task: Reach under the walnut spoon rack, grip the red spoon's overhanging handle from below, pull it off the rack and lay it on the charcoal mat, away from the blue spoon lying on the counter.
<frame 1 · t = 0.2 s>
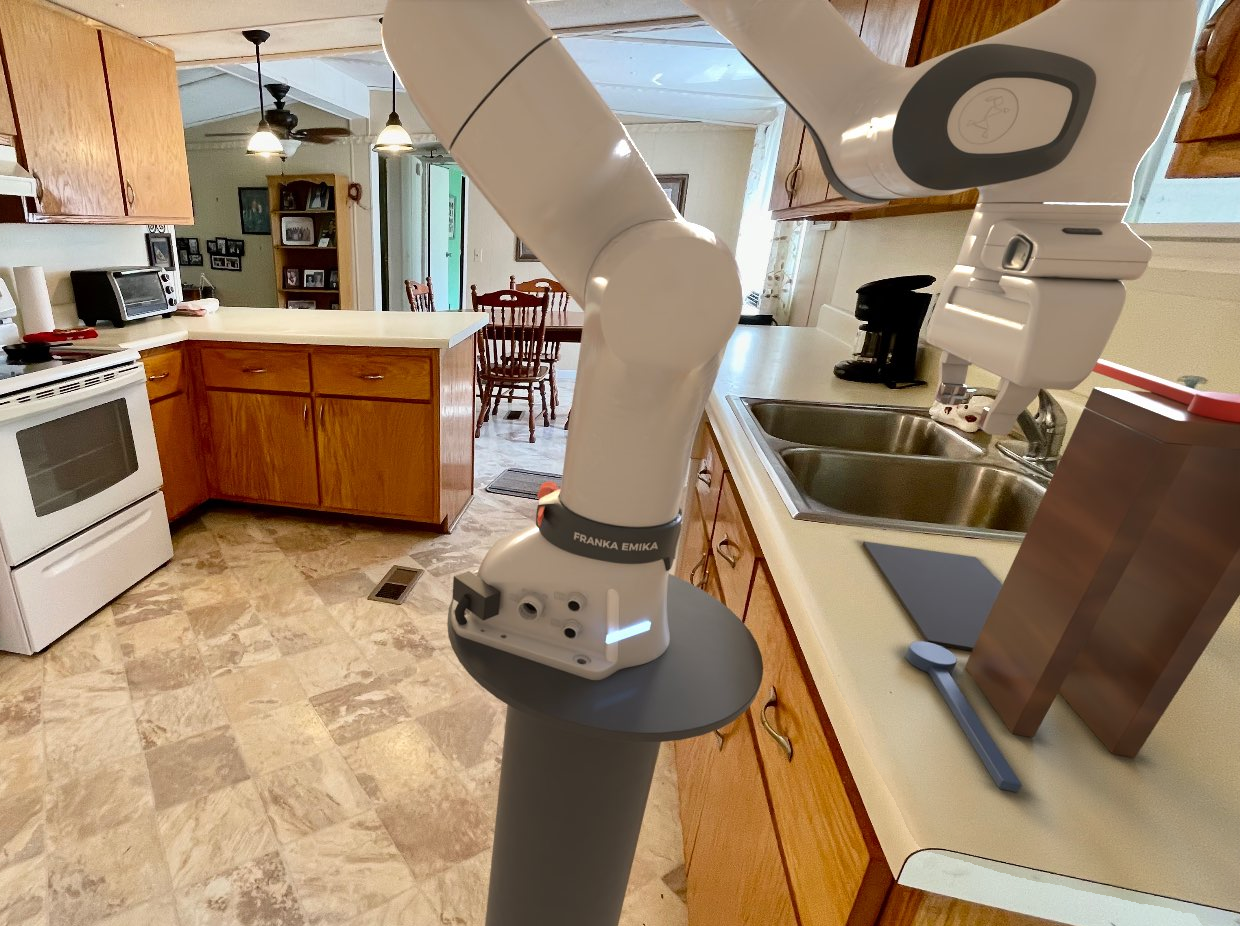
hand: (967, 416, 57), 22 cm above the countertop, tool pointing down, fingers open, 8 cm apart
red spoon: (1178, 399, 47), point 26 cm above the countertop, touching spoon rack
spoon rack: (1042, 708, 55), on the countertop
charcoal mat: (953, 597, 71), on the countertop
blue spoon: (947, 693, 57), on the countertop
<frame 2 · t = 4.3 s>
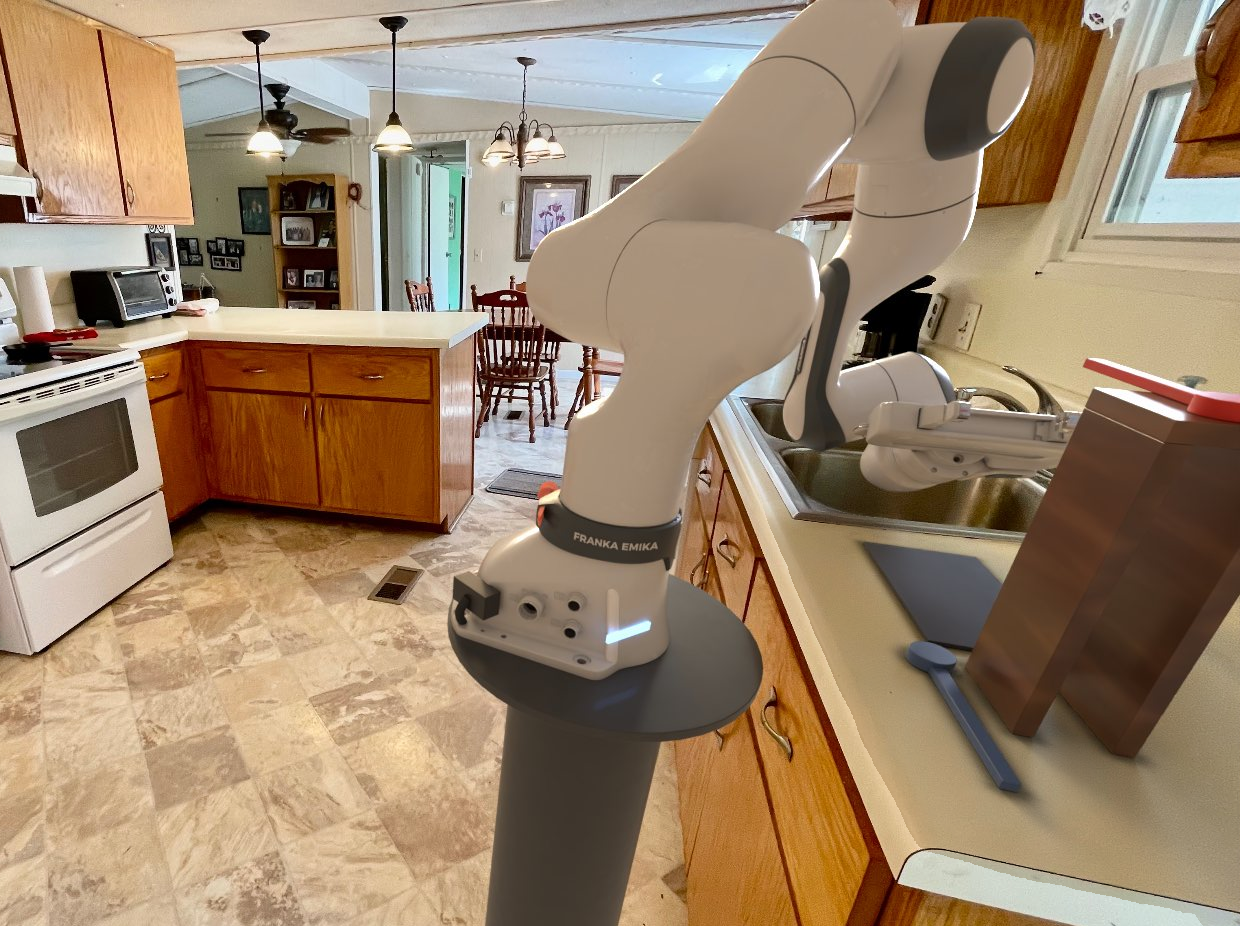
hand: (1018, 414, 65), 20 cm above the countertop, tool pointing upward, fingers open, 8 cm apart
nothing on the countertop moved.
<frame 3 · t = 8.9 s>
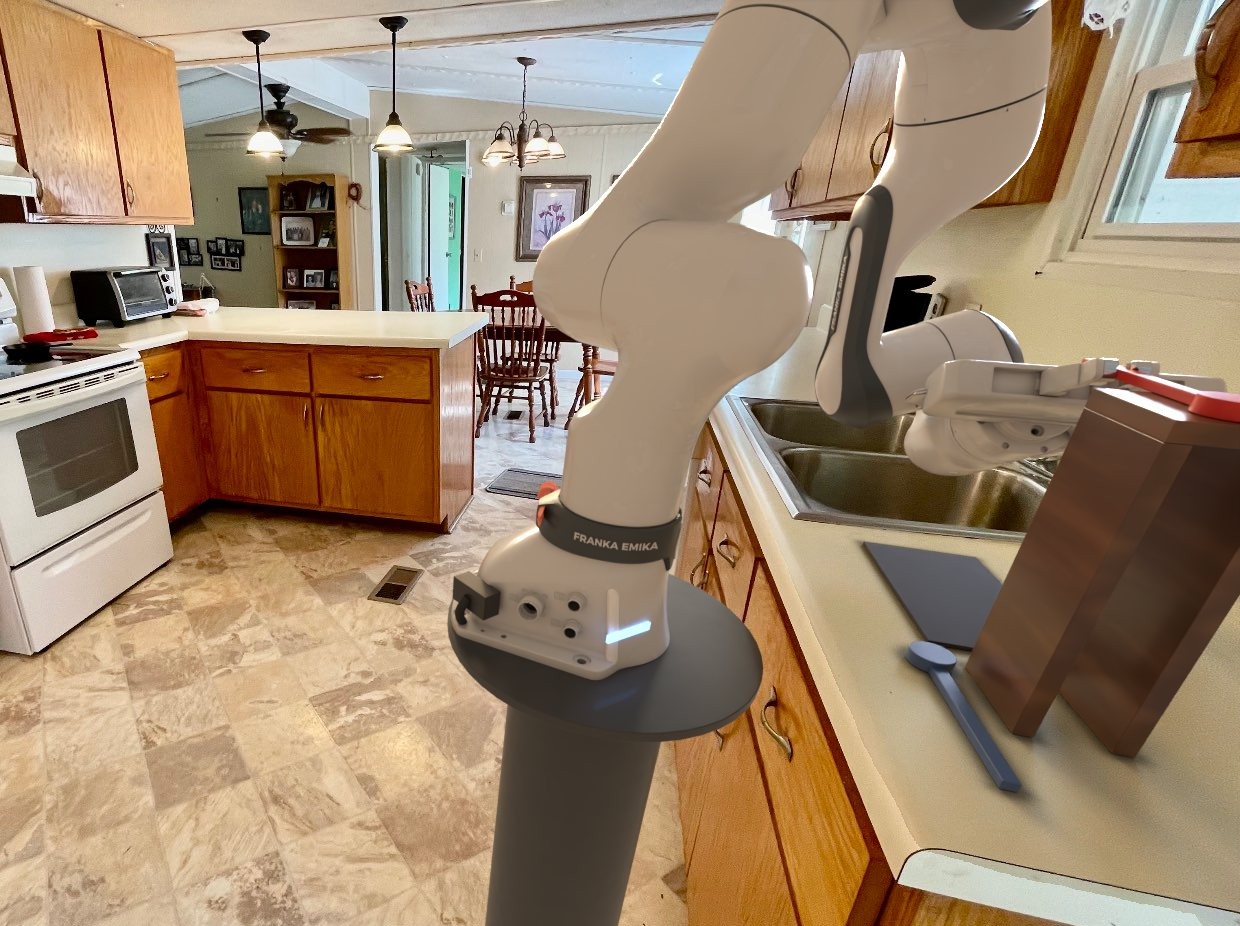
hand: (1128, 369, 52), 27 cm above the countertop, tool pointing upward, fingers closed on red spoon, 1 cm apart
red spoon: (1178, 399, 47), point 26 cm above the countertop, touching gripper, spoon rack
everything else where it was.
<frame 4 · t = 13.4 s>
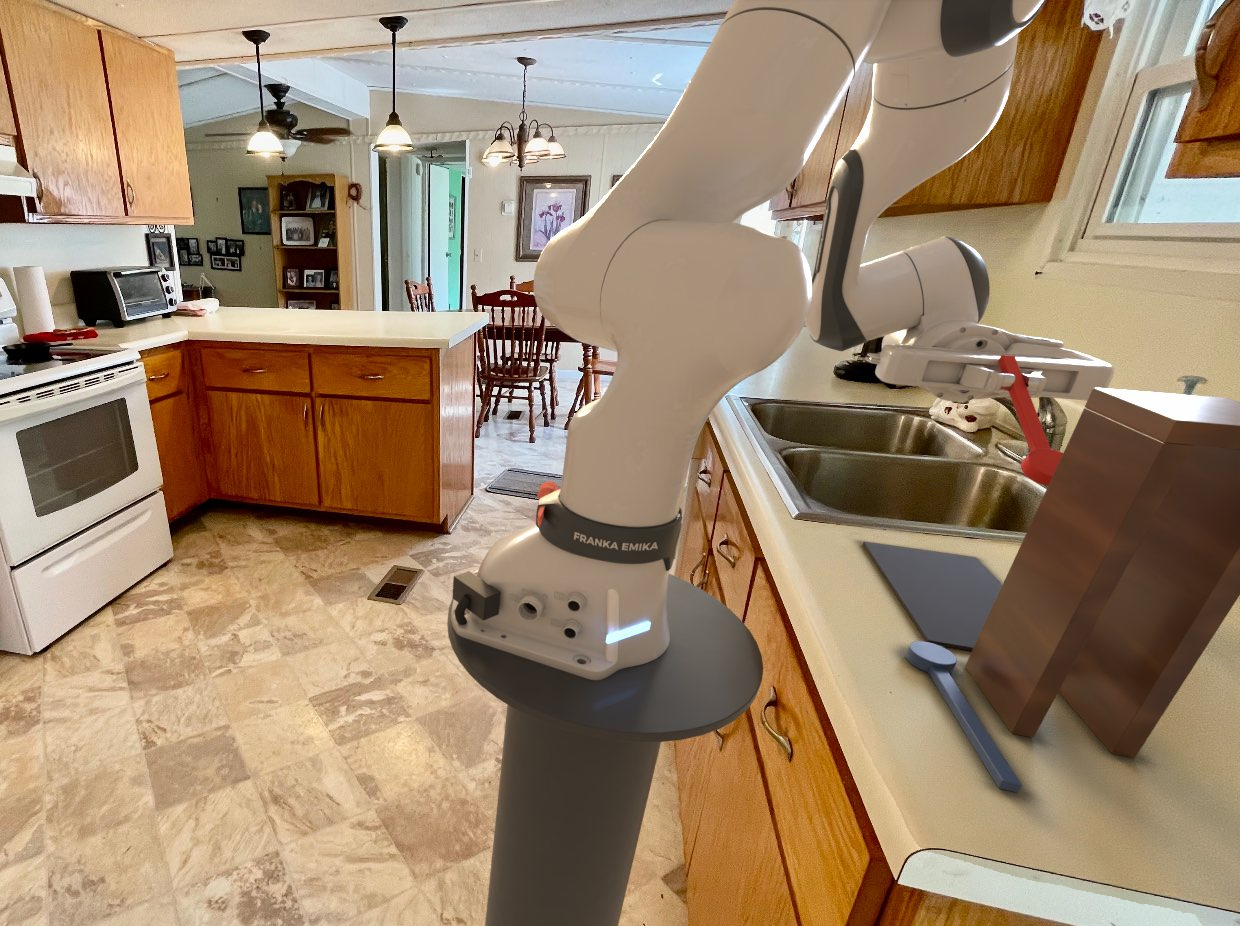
hand: (1020, 385, 65), 22 cm above the countertop, tool horizontal, fingers closed on red spoon, 1 cm apart
red spoon: (1031, 436, 62), point 19 cm above the countertop, tilted 28°, touching gripper
everything else where it was.
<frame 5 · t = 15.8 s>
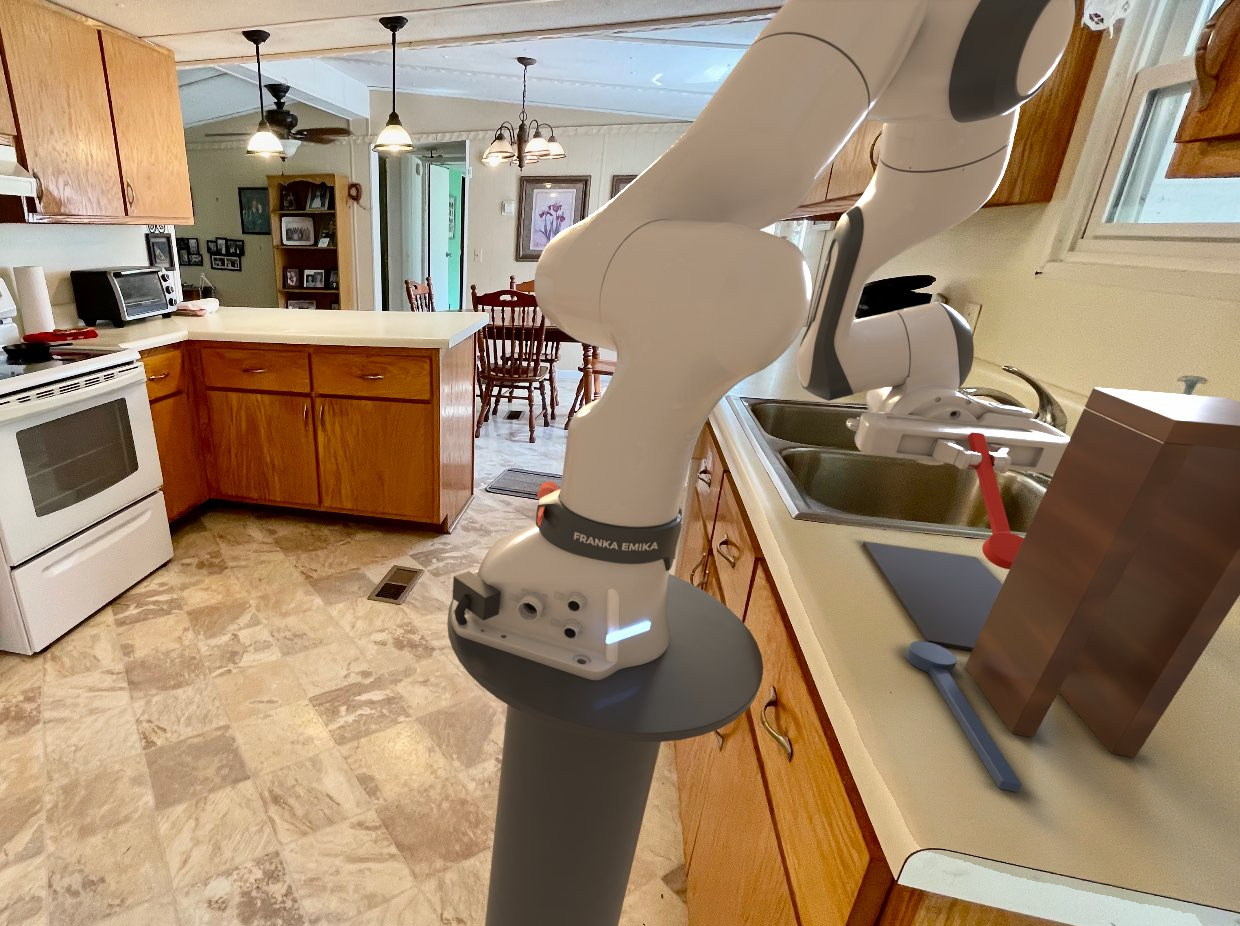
hand: (986, 464, 69), 14 cm above the countertop, tool horizontal, fingers closed on red spoon, 1 cm apart
red spoon: (994, 516, 66), point 10 cm above the countertop, tilted 30°, touching gripper
everything else where it was.
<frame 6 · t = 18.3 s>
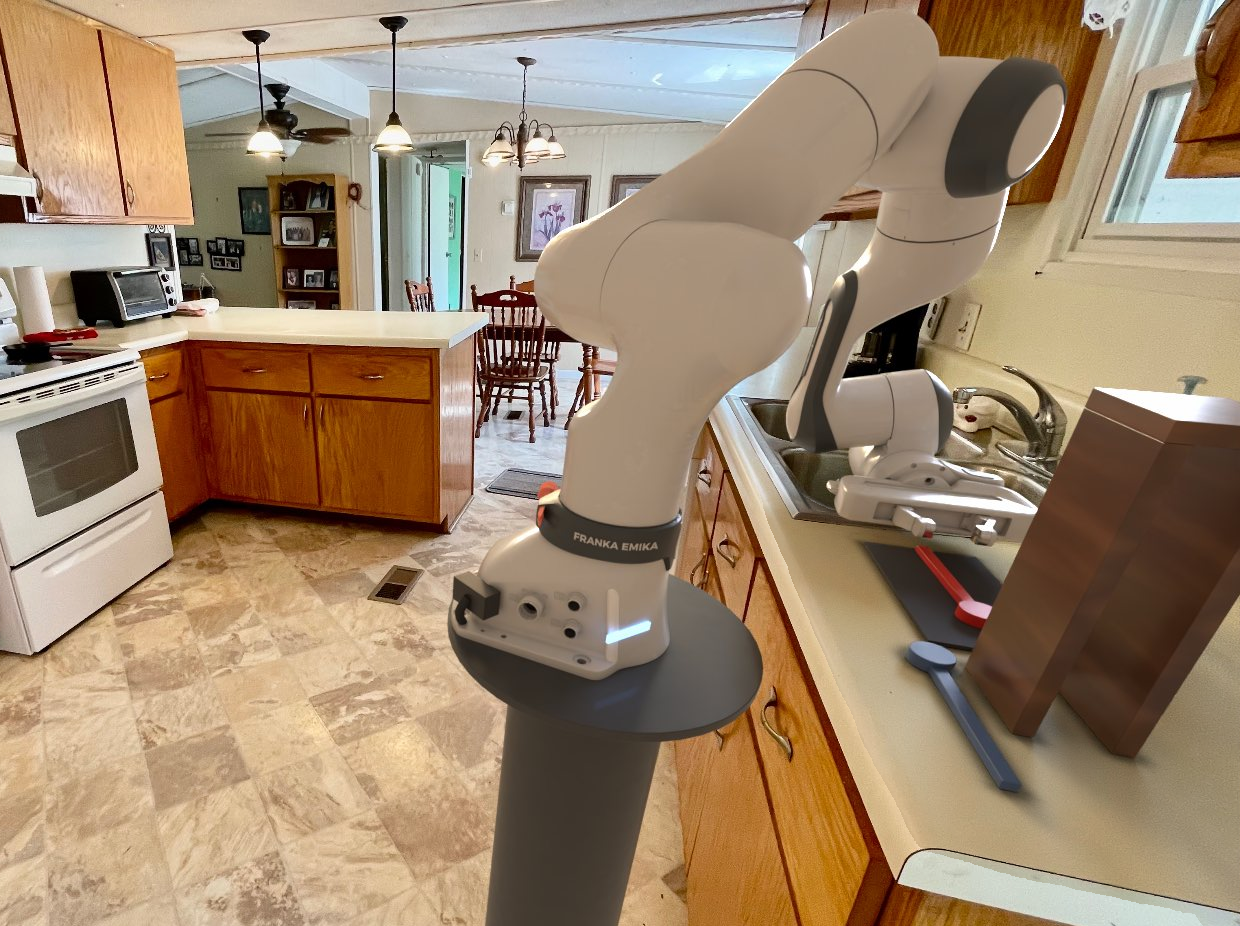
hand: (956, 535, 73), 6 cm above the countertop, tool horizontal, fingers open, 4 cm apart
red spoon: (957, 597, 71), resting on charcoal mat
everything else where it was.
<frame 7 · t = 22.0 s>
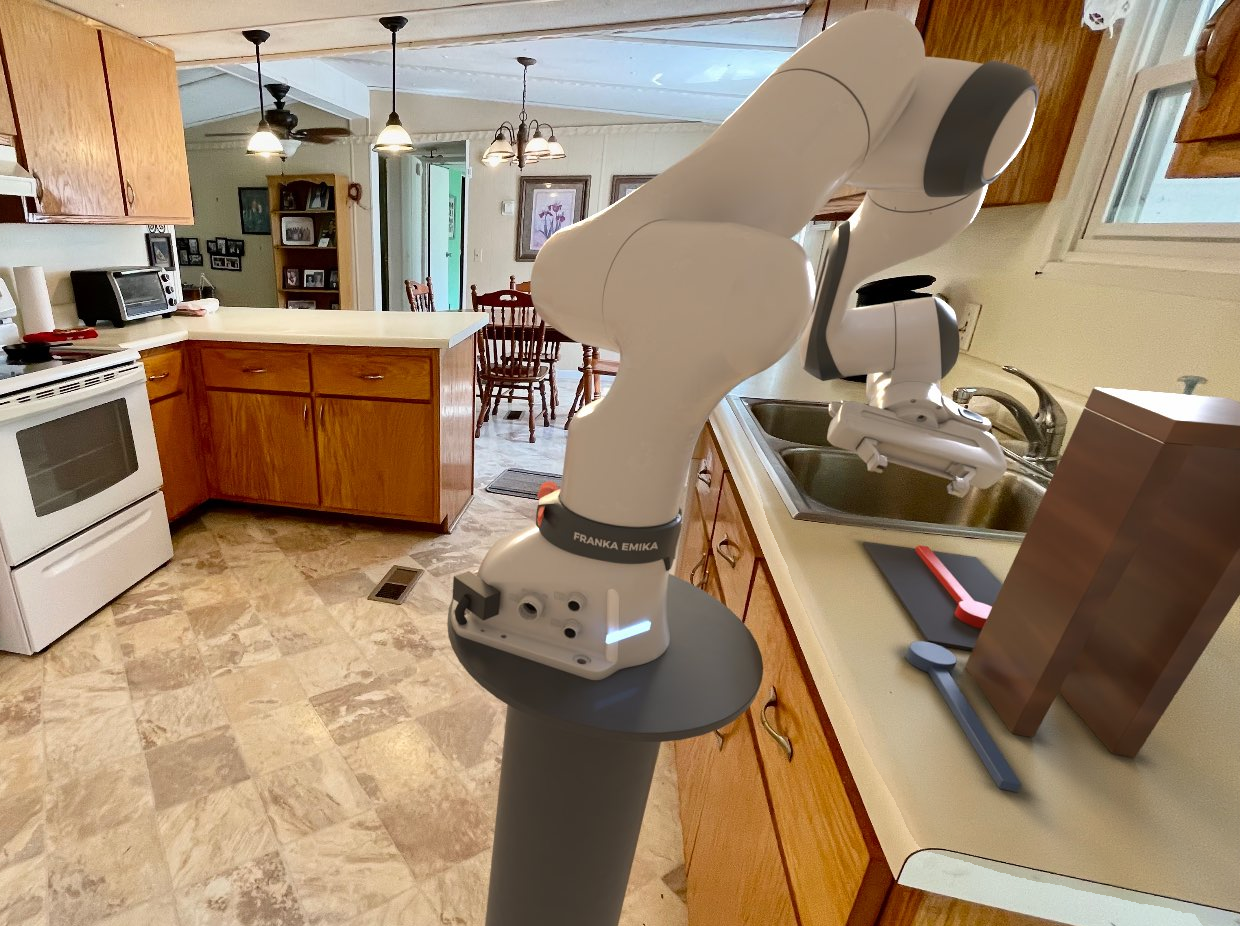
hand: (918, 480, 83), 7 cm above the countertop, tool tilted 70°, fingers open, 8 cm apart
nothing on the countertop moved.
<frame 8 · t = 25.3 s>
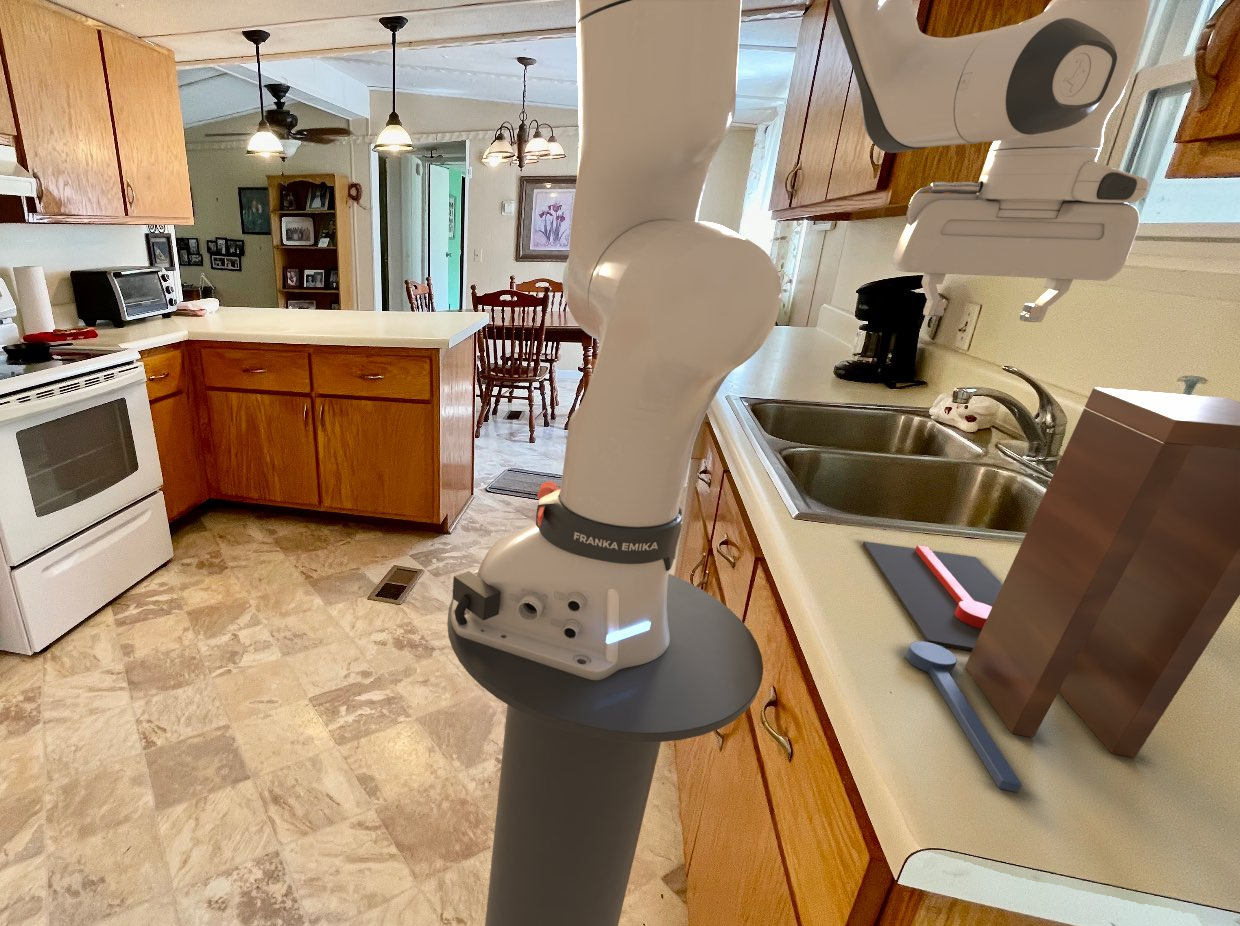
hand: (980, 318, 75), 27 cm above the countertop, tool pointing down, fingers open, 8 cm apart
nothing on the countertop moved.
at the end: red spoon inside the target area (0.3 cm from its centre), resting on charcoal mat; blue spoon moved 0.0 cm from its start; the gripper is holding nothing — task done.
